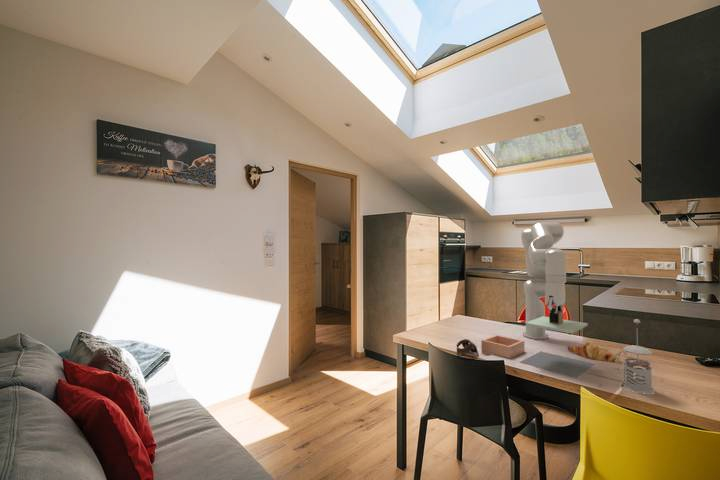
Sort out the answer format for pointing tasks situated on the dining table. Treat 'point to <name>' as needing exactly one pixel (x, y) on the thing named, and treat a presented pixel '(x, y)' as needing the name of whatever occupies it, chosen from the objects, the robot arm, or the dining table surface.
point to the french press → (637, 369)
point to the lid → (557, 324)
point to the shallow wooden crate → (502, 346)
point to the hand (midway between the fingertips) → (556, 321)
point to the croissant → (593, 352)
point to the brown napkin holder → (466, 347)
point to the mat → (558, 364)
